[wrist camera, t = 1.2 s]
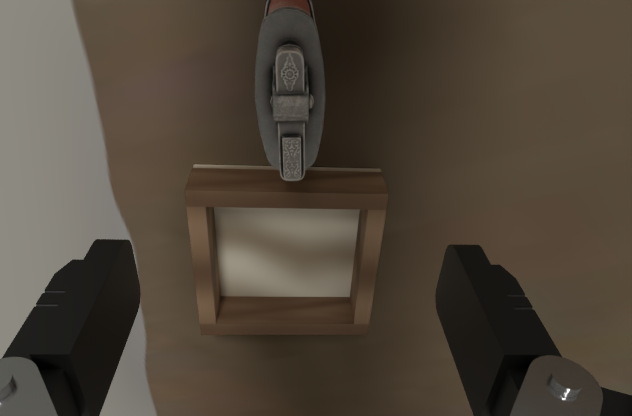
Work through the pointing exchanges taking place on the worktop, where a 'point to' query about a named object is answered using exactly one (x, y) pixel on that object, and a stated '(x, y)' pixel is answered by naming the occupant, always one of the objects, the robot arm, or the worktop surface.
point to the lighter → (290, 87)
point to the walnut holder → (285, 248)
